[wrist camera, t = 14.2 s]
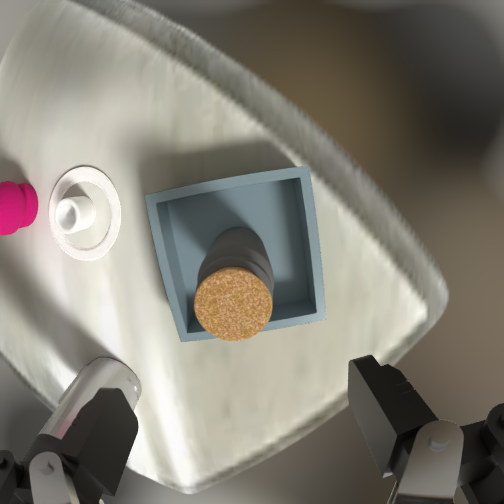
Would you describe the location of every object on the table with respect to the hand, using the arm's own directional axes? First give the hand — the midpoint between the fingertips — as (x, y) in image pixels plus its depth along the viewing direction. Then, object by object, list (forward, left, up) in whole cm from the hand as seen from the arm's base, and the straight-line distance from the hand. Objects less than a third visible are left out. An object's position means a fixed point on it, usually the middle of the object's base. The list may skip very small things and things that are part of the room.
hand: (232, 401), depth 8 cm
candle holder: (-19, +8, -25) cm, 32 cm away
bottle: (0, 0, -23) cm, 23 cm away
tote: (0, 0, -24) cm, 24 cm away
